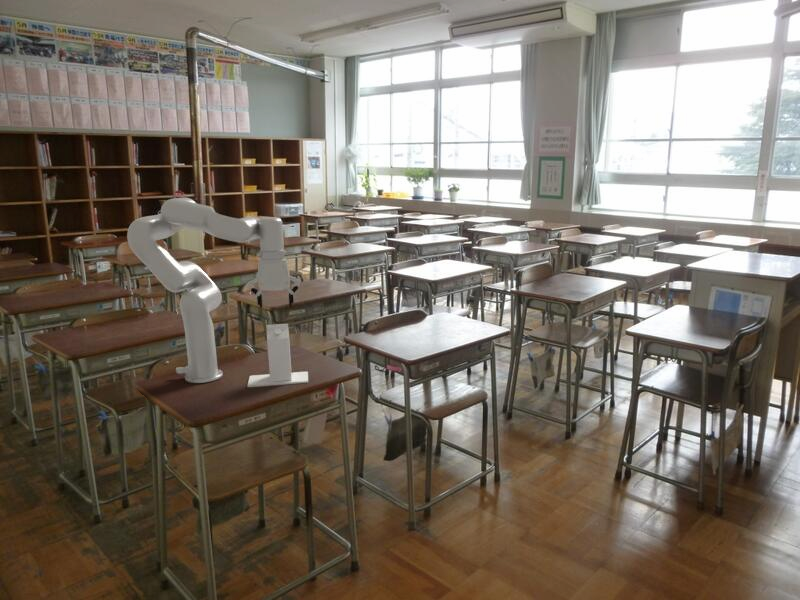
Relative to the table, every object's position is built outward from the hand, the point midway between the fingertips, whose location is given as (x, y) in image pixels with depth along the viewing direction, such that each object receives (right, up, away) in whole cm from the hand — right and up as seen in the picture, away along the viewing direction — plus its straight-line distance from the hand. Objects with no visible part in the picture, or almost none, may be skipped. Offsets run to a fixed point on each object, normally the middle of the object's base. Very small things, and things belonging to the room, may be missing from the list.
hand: (276, 306), depth 204 cm
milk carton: (+1, -25, +6) cm, 26 cm away
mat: (0, -25, +6) cm, 26 cm away
